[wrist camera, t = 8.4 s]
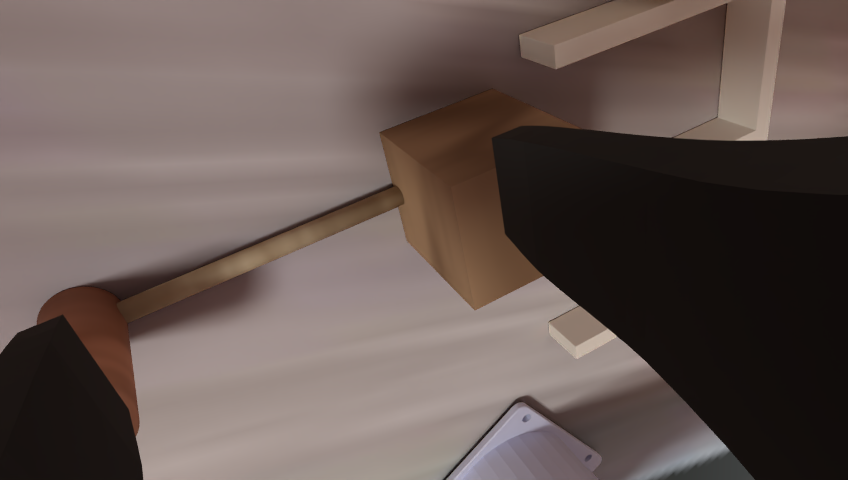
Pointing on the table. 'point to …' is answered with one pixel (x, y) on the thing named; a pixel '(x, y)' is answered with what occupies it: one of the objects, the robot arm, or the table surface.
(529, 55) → the lane rack
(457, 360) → the table surface
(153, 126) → the table surface
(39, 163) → the table surface
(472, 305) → the tethered block
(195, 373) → the table surface
